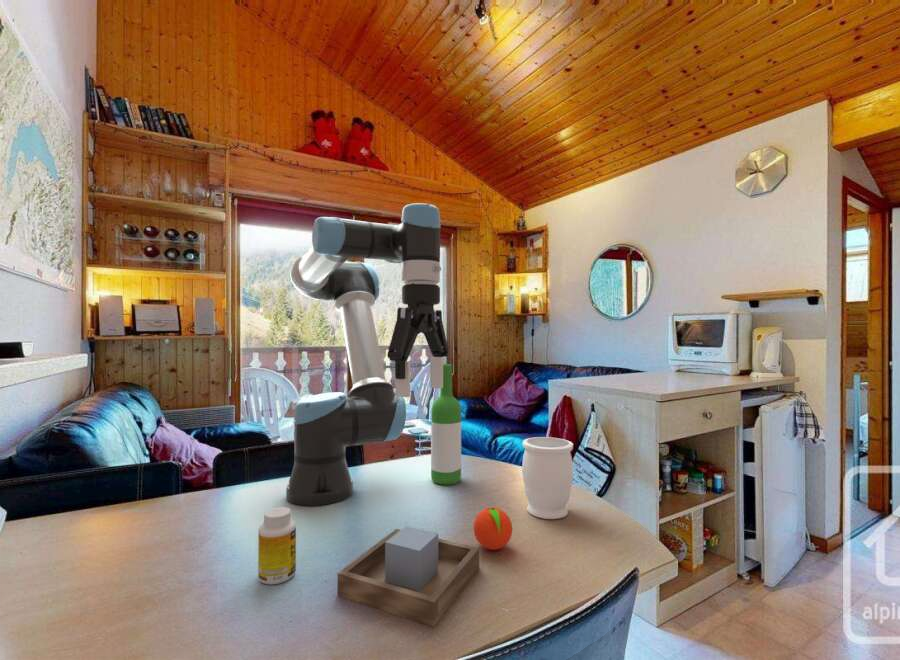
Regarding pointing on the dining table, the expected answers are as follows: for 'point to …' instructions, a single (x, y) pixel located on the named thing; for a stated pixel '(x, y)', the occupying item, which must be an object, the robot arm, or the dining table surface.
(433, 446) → the wine bottle
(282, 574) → the supplement bottle
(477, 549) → the walnut tray
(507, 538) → the clementine
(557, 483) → the jar
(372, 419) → the robot arm
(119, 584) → the dining table surface
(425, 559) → the grey cube
